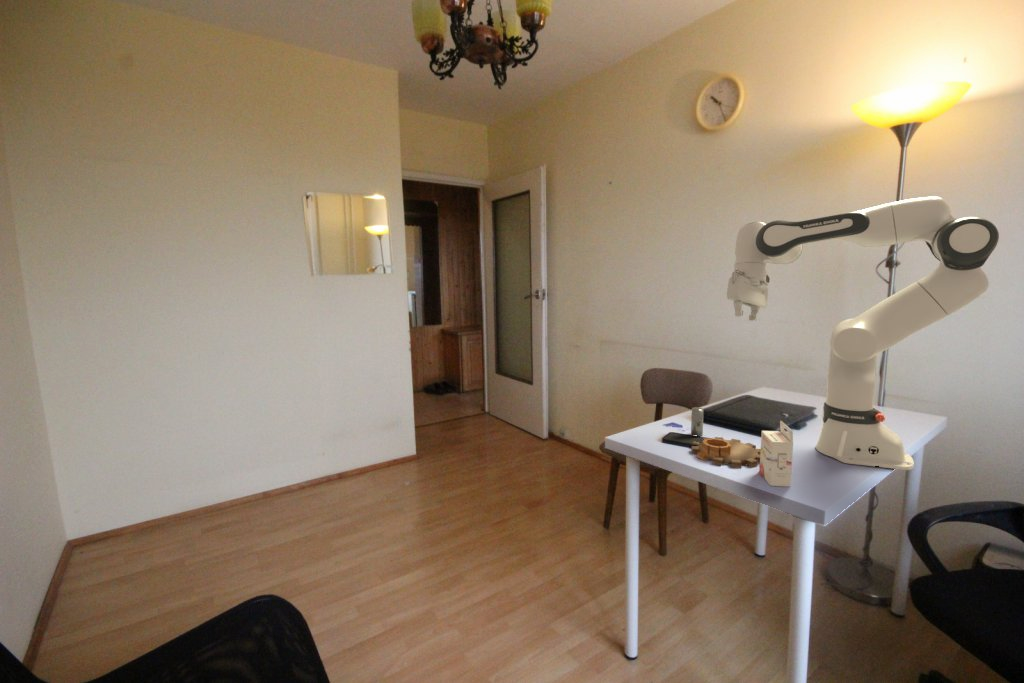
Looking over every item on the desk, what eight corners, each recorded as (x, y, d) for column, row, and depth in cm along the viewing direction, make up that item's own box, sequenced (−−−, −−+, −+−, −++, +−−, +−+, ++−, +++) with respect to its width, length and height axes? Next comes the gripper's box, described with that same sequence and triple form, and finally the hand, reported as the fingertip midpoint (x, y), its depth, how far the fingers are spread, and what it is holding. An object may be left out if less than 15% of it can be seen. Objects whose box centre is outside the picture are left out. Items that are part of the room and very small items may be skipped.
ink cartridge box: (757, 471, 124) (761, 419, 122) (777, 472, 123) (781, 419, 121) (769, 486, 116) (773, 429, 114) (791, 487, 115) (795, 430, 113)
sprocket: (767, 449, 139) (768, 436, 139) (761, 473, 123) (761, 459, 122) (698, 437, 150) (699, 425, 149) (684, 458, 134) (684, 445, 133)
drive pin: (703, 434, 153) (704, 408, 152) (701, 437, 150) (702, 411, 149) (692, 432, 155) (693, 406, 153) (689, 435, 152) (690, 409, 150)
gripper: (744, 267, 136) (740, 313, 135) (773, 280, 149) (770, 322, 148) (723, 269, 141) (719, 314, 140) (752, 281, 153) (749, 322, 153)
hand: (745, 318), depth 144 cm, fingers open, 8 cm apart
